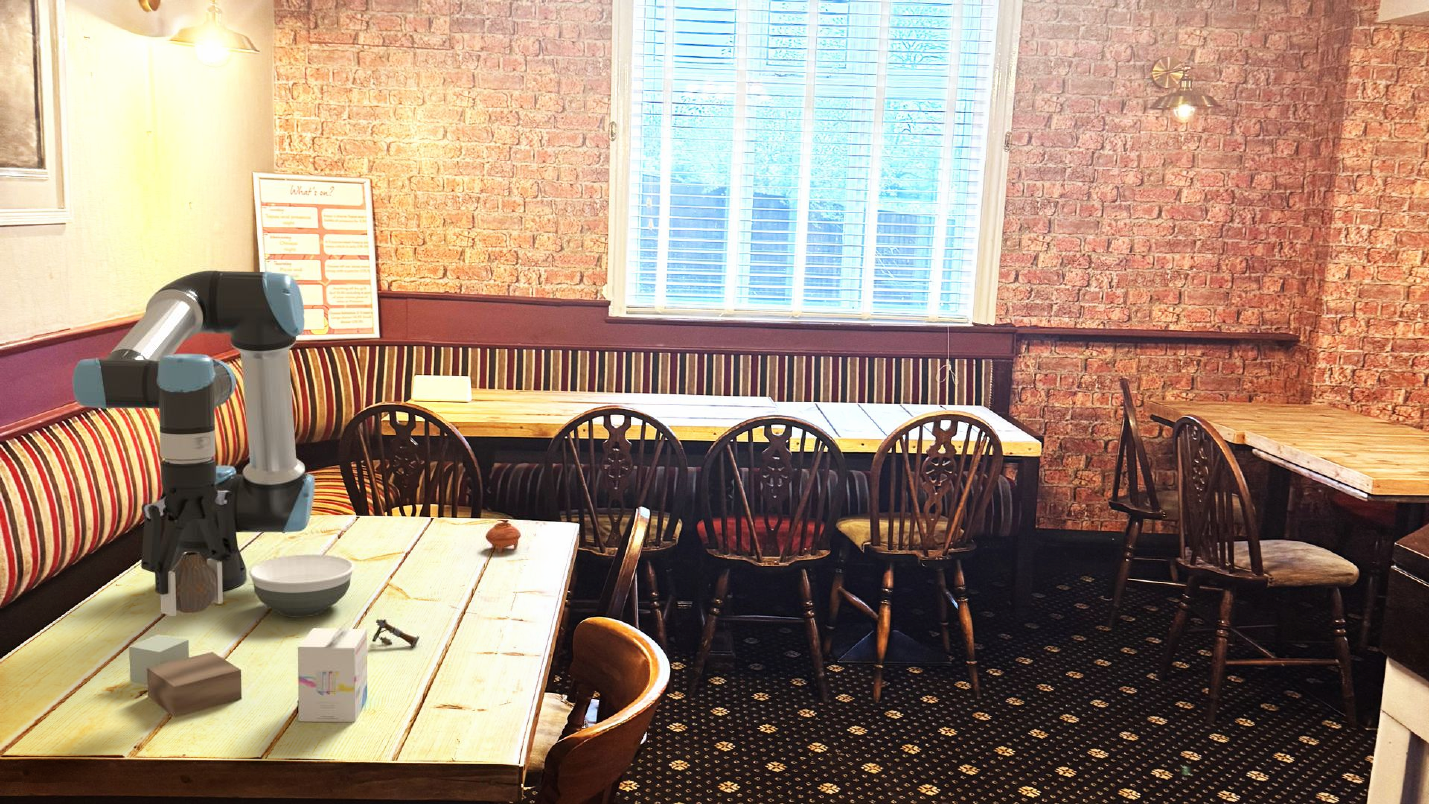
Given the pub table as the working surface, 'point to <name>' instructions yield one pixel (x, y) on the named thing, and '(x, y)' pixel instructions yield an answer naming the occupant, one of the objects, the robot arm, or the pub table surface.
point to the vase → (193, 583)
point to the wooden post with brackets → (395, 631)
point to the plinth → (194, 684)
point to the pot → (503, 536)
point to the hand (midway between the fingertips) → (192, 607)
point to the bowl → (302, 583)
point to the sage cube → (155, 655)
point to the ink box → (332, 675)
